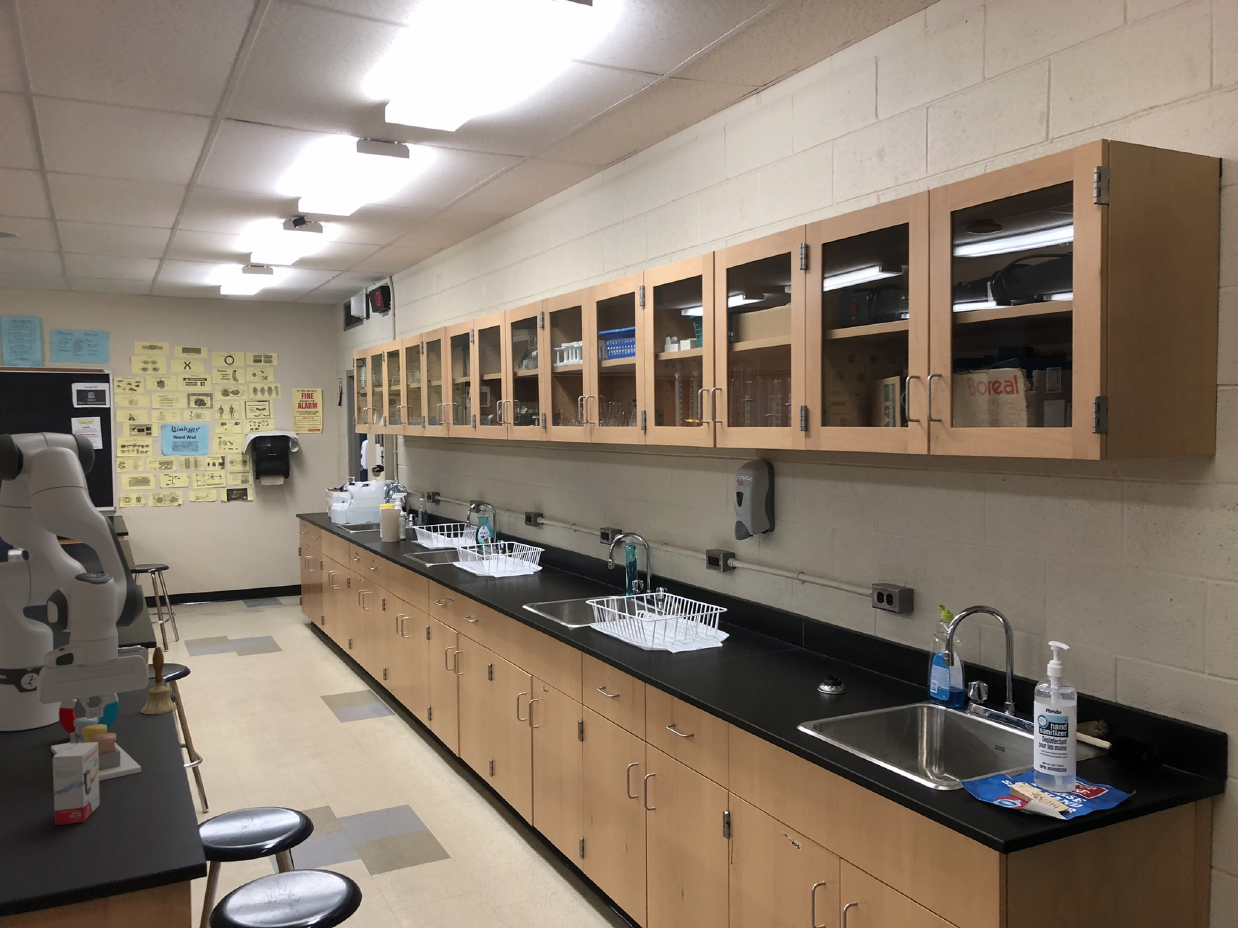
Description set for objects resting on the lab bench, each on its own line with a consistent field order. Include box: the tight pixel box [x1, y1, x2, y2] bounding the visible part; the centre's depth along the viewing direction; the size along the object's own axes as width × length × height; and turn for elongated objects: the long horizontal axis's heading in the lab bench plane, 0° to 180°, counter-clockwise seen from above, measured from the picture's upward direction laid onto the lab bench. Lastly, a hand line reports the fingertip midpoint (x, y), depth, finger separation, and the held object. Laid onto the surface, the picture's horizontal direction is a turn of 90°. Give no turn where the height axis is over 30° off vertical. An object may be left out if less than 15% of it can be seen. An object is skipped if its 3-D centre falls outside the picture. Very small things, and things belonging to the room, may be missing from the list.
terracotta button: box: [90, 732, 117, 755], centre depth 183 cm, size 5×5×4 cm
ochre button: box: [82, 724, 108, 743], centre depth 189 cm, size 5×5×4 cm
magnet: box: [59, 693, 120, 735], centre depth 206 cm, size 12×3×10 cm, turn 118°
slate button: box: [74, 716, 99, 737], centre depth 195 cm, size 5×5×4 cm
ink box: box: [52, 742, 101, 826], centre depth 160 cm, size 9×5×12 cm, turn 13°
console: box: [50, 732, 142, 782], centre depth 189 cm, size 28×11×4 cm, turn 42°
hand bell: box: [140, 646, 178, 715], centre depth 228 cm, size 8×8×16 cm
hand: (94, 716), depth 189 cm, fingers closed
